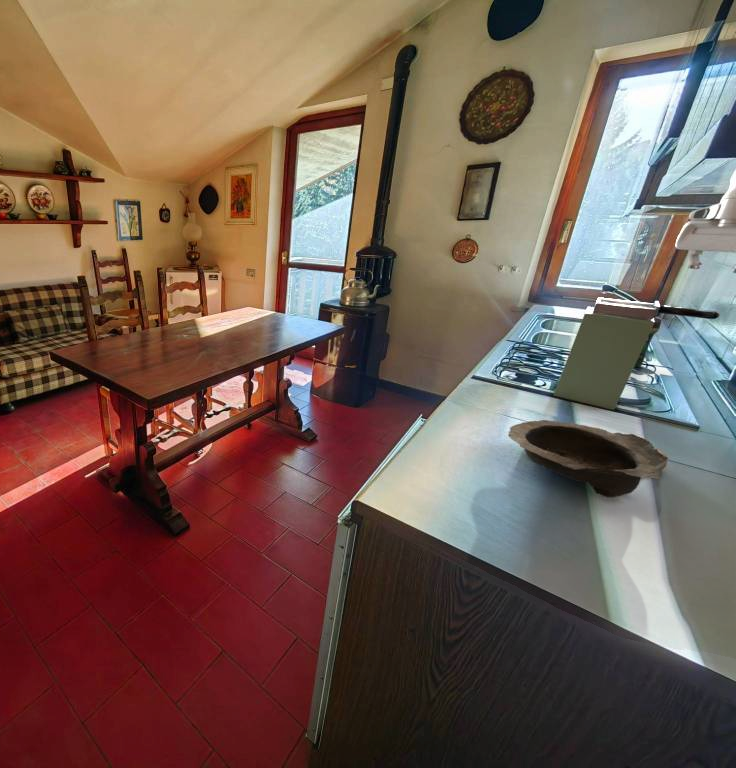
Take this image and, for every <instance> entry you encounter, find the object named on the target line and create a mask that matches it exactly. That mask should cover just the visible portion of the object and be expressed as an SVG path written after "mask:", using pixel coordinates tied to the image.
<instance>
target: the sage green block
mask: <svg viewBox="0 0 736 768" xmlns="http://www.w3.org/2000/svg"><path fill="white" fill-rule="evenodd" d="M593 310H594V307H593V306H592V307H591V306H587V308H586V310H585V312H584V314H583V317H582V319H581V323H580V325H579V328H578V330H577V332H576V335H575V337H574V341H573V342H572V346H571V348H570V351H569V354H568V356H567V359H566V361H565V363H564V366H563V369H562V372H561V374H560V376H559V379H558V382H557V383H556V384H557V385H556V388H555V389H554V392H553V395H552V396H553V397H557V398H562V399H565V400H570V401H574V402H578V403H583V404H586V405H591V406H595V407H599V408H603V409H607V410H612V411H615V409H616V407H617V405H618V403H619V401H620V398H621V396H622V394H623V392H624V390H625V388H626V385H627V384H628V381H629V379H630V377H631V374H632V372H633V370H634V368H635V367H634V366H635V364H636V362H637V360H638V357H639V355H640V353H641V351H642V349H643V347H644V344H645V342H646V340H647V338H648V336H649V334H650V331H651V329H652V327H653V325H654V323H655V321H654V318H653V320H649V319H641V318H633V317H625V316H617V315H609V314H601V313H593Z"/></svg>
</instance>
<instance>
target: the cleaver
mask: <svg viewBox="0 0 736 768" xmlns="http://www.w3.org/2000/svg"><path fill="white" fill-rule="evenodd" d="M593 308H594V310H593V313H601V314H609V315H617V316H625V317H633V318H641V319H649V320H653V318H655V317H657V315H658V314H663V315H664V314H665V315H671V316H681V317H689V318H698V319H707V320H717V319H718V318H719V317H720V313H719V311H716V310H708V309H707V310H706V309H699V308H698V309H697V308H689V307H688V308H687V307H681V306H680V307H679V306H671V305H661V304H660V302H659V301H658V300H654V303H650V302H643V301H631V300H623V299H615V298H614V299H613V298H604V297H597V300H596V302H595V304H594V307H593Z"/></svg>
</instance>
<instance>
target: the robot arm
mask: <svg viewBox="0 0 736 768" xmlns="http://www.w3.org/2000/svg"><path fill="white" fill-rule="evenodd" d="M729 182H730V183H729V187H728V189H727V191H726V192H725V193H724V194H723V196H721V199H720V202H719V203H716V204H712V205H709V206H706V207H702V208H699V209H695V210H693V211H691V212H690V213H689V216H688V219H689V221H687V222H686V223H685V224H684V225H683V227H682V228H681V230H680V232H679V234H678V236H677V239H676V241H675V248H676V249H677V250H687V251H688V254H687V256H688V260H689V264H688V266H687V268H688V269H691V270H700V269H701V268H702V265H703V263H704V262H703V261H701V260H700V255H703V253H704V252H718V253H719V252H720V253H734V254H736V168H734V170H733V172H732V175H731V177H730V179H729ZM732 272H733V274H736V266H735V267H734V269H733V271H732Z"/></svg>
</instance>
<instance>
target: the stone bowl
mask: <svg viewBox="0 0 736 768" xmlns="http://www.w3.org/2000/svg"><path fill="white" fill-rule="evenodd" d="M507 436H508V437H509V438H510V440H512V441H514V442H515V443H517V444H518V445H519V447H521V448H522V449H524V452H525V454H526V456H527V458H528V459H529V460H530V461H532V462H533V463H535V464H537V465H538V466H540V467H543V468H544V469H546V470H547V471H548V470H549V471H551V472H552V473H554V474H558V475H560V476H563V477H565V478H569V479H571V480H574V481H577V482H581V483H587V484H588V485H590V486H591V487H592V488H593V490H594V493H596V494H598V495H600V496H601V497H604V498H615V497H620V496H624V495H628V494H631V493H633V492H634V490H636V489H637V488H638V486H639V485H640V482H641V480H642V478H643V477H648V478H652V479H661V477H662V471H663V470H662V465H663V464H664V463H665V462H666V460H667V461H668V459H669V457H668V456H666V457H663V455H662V454H660V453H659V452H658V450H659V449H657V448H655V446H654V445H653V443H652V442H650V441H649V440H647V439H646V438H644V437H641V436H638V435H636V434H633V433H621V432H610V431H608V430H606V429H603V428H600V427H593V426H588V425H585V424H578V423H574V422H565V421H558V420H548V419H540V420H529V421H526V422H525V421H524V422H521V423H517V424H514V425H512V426H510V427H509V431H508V434H507ZM661 470H662V471H661Z"/></svg>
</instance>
